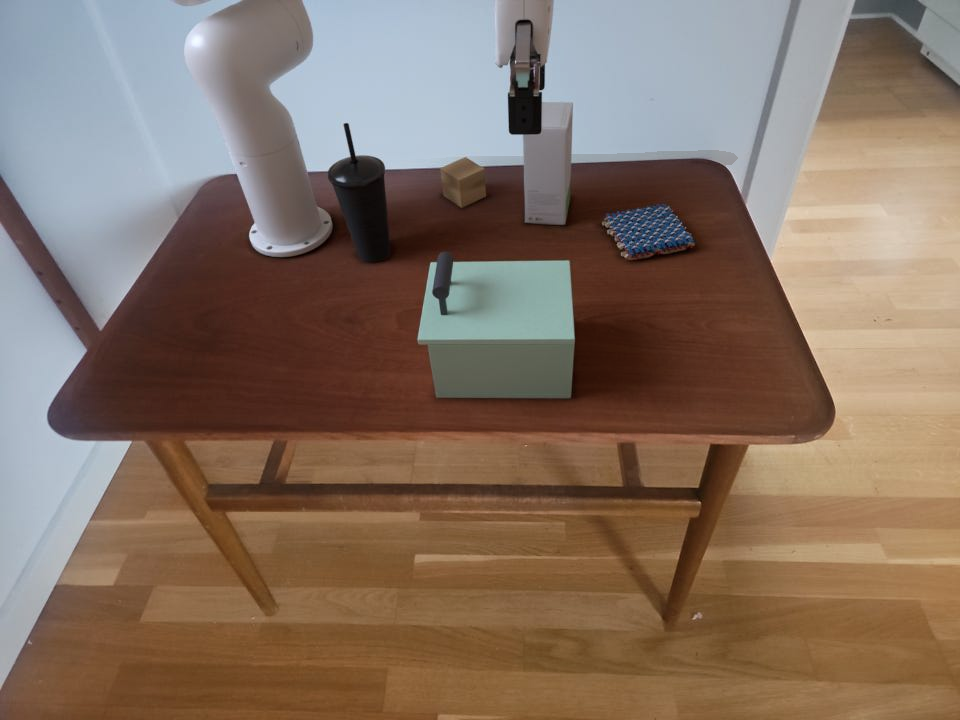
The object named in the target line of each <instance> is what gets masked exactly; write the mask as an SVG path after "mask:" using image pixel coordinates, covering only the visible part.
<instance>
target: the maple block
mask: <svg viewBox="0 0 960 720" xmlns="http://www.w3.org/2000/svg"><path fill="white" fill-rule="evenodd" d="M439 169H440V177H441V186H442V187H441V188H442V195H443V196H444V197H445V198H446V199H448V200H449V201H450V202H452V203H454V204H455V205H456V206H458V207H460V208H461V209H463V208H465V207H467V206H469V205H471V204H473V203H475V202H477V201H480V200H481V199H483V198H484V199H485V198H486V197H487V187H486V170H485V167H483V166H481V165H479V164H478V163H477V162H475V161H473V160H471V159H470V158H468V157H467V156H464V157H461V158H459V159H457V160H455V161H452V162H450V163H448V164H446V165H444V166H441V167H440V168H439Z"/></svg>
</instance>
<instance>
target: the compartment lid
mask: <svg viewBox="0 0 960 720" xmlns="http://www.w3.org/2000/svg"><path fill="white" fill-rule="evenodd" d="M454 260H455V257H454V256H453V254H452V253H451V252H447V251H442V252H440V253H439V254H438V255H437V261H431V262H430V264H429V269H428V275H427V281H426V287H425V292H424V299H423V304H422V310H421V316H420V322H419V328H418V334H417V344H418V345H428V344H575V343H576V336H575V334H576V333H575V320H574V317H575V316H574V305H573V303H574V302H573V289H572V275H571V274H572V273H571V261H570V260H567V259H565V260H503V261H502V260H501V261H500V260H499V261H497V260H494V261H491V260H490V261H454Z"/></svg>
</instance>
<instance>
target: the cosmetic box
mask: <svg viewBox="0 0 960 720" xmlns="http://www.w3.org/2000/svg"><path fill="white" fill-rule="evenodd" d="M573 115H574V102H567V101H566V102H565V101H557V102H556V101H555V102H554V101H553V102H552V101H551V102H545V101H544V102H543V101H542V130H541V133H540V134H537V135H522V154H523V155H522V156H523V157H522V158H523V187H524V188H523V190H524V191H523V192H524V223H526V224H532V225H533V224H535V225H553V226H565V225H566V222H567V218H568V212H569V211H568V210H569V206H570V201H571V187H572V186H571V183H572V181H571V180H572V153H573V151H572V150H573V149H572V147H573V118H574V117H573Z"/></svg>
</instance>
